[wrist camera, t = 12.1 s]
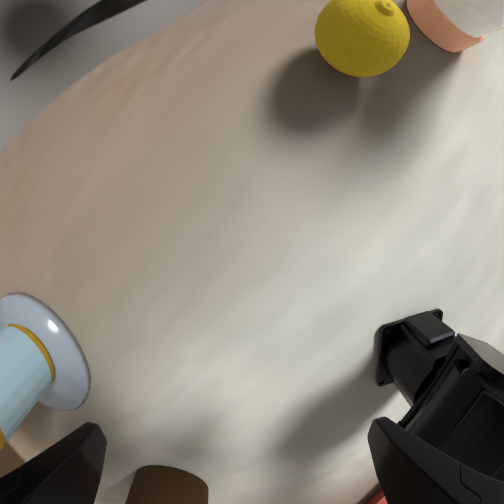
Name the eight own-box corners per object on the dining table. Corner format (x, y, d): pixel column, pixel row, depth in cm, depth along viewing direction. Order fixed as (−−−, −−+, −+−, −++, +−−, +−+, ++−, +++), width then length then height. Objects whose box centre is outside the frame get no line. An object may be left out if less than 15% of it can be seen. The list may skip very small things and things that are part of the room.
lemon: (342, 104, 17) (398, 64, 9) (287, 49, 16) (312, -15, 8) (387, 69, 16) (447, 30, 9) (337, 19, 15) (376, -39, 8)
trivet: (110, 408, 22) (106, 416, 21) (28, 397, 22) (23, 402, 21) (59, 286, 19) (51, 291, 18) (-18, 297, 19) (-24, 301, 18)
